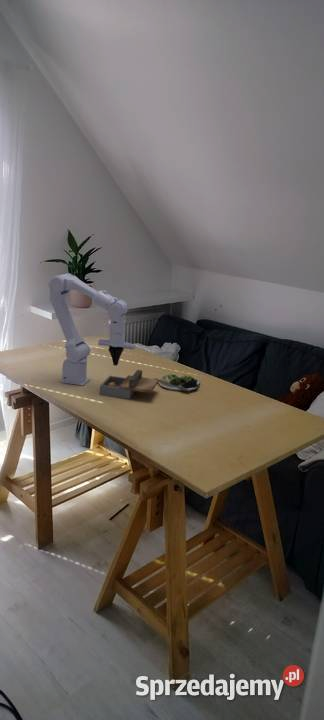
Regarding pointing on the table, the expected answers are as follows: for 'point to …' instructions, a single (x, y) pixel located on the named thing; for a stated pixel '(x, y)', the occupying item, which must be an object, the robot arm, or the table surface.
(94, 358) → the table surface
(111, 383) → the ball
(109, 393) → the storage box
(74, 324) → the robot arm
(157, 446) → the table surface
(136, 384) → the lid
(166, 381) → the salad plate
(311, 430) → the table surface
